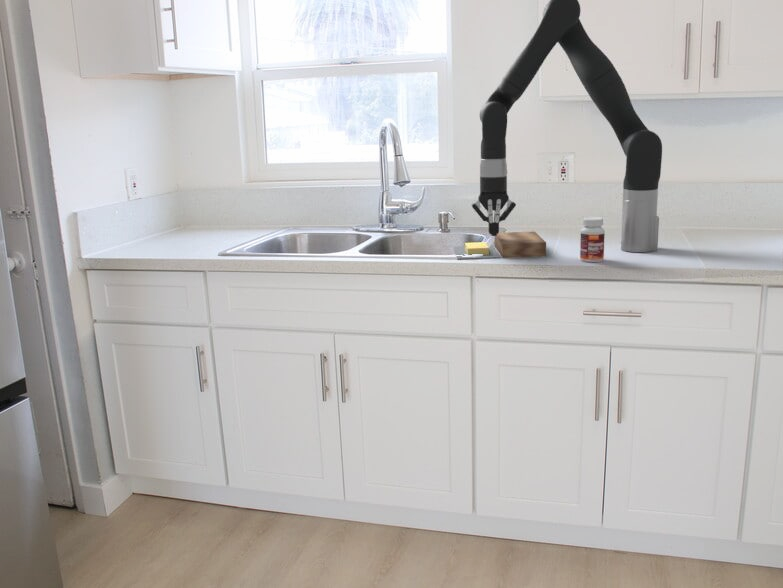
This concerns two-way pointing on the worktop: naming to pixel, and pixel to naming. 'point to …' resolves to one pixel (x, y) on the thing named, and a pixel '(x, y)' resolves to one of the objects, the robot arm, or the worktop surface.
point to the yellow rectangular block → (477, 248)
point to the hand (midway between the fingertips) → (493, 235)
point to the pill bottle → (592, 240)
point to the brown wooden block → (520, 244)
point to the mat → (461, 251)
